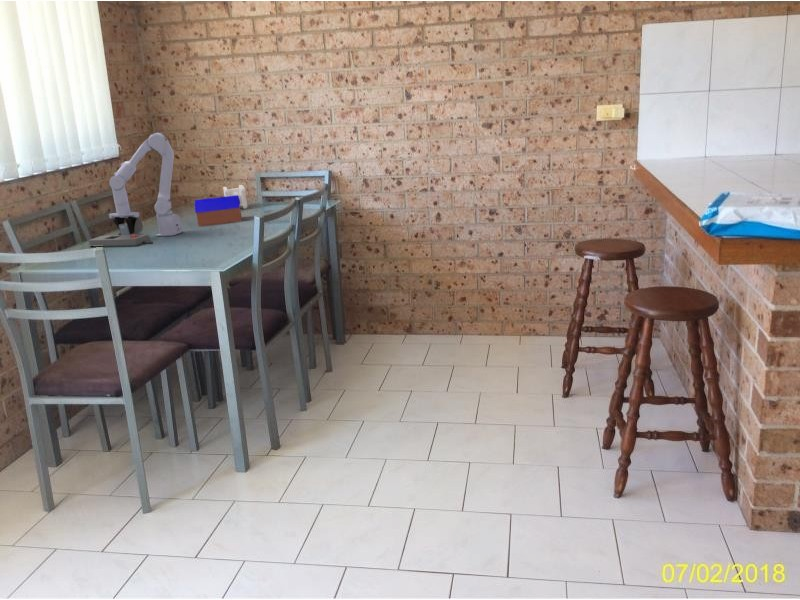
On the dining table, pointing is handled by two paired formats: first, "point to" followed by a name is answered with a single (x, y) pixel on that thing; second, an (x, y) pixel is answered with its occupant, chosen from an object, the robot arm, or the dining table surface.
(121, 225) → the block
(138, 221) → the mug
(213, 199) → the blue-topped brown box
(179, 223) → the robot arm
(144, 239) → the power strip
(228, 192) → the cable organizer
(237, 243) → the dining table surface
